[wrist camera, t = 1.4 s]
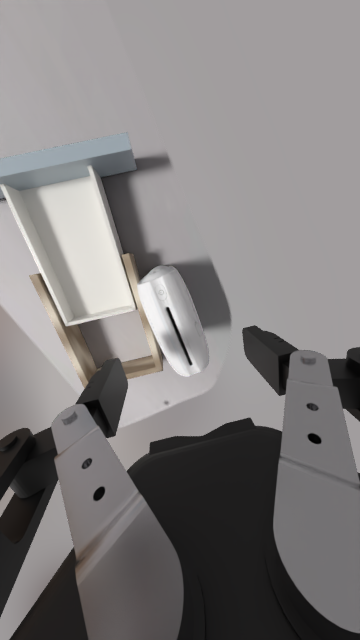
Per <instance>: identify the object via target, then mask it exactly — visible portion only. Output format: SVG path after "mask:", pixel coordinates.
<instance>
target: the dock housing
mask: <svg viewBox="0 0 360 640" xmlns="http://www.w3.org/2000/svg"><path fill="white" fill-rule="evenodd" d="M122 258H123V262H124V265H125V268H126V271H127V275H128V278H129V281H130V285H131V288H132V291H133V294H134V298H135V301H136V304H137V307H138V311H139V314H140V317H141V320H142V324H143V327H144V330H145V334H146V337H147V340H148V343H149V347H150V350H151V353H152V356H148V357H143V358H139V359H135V360H131V361H127V362H123V363H121V364H122V367H123V369H124V372H125V375H126V377H127V379H131V378H135V377H139V376H143V375H147V374H151V373H155V372H159V371H163V357H162V354H161V350H160V347H159V343H158V341H157V339H156V337H155V335H154V333H153V331H152V328H151V326H150V324H149V322H148V319H147V317H146V314H145V312H144V309H143V307H142V304H141V301H140V298H139V294H138V289H137V284H138V283H139V282H140V281H141V280H140V276H139V273H138V269H137V266H136V262H135V259H134V255H133V254H131V253H127V254H123V255H122ZM29 277H30V279H31V281H32V283H33V285H34V287H35V289H36V291H37V293H38V295H39V297H40V299H41V301H42V303H43V305H44V307H45V309H46V311H47V313H48V315H49V317H50V319H51V321H52V323H53V325H54V327H55V329H56V331H57V333H58V336H59V338H60V340H61V342H62V344H63V346H64V348H65V350H66V352H67V354H68V356H69V358H70V360H71V362H72V364H73V366H74V368H75V370H76V372H77V374H78V376H79V378H80V380H81V382H82V384H83V386H84V388H85V387H86V385H87V384H88V382H89V380H90V379H91V377H92V376H93V375H94V374H95V373H96V372H97V371H98V370H101V368H98V369H97V367H96V365H95V363H94V360H93V358H92V356H91V354H90V351H89V349H88V347H87V345H86V342H85V340H84V338H83V336H82V333H81V331H80V329H79V327H78V324H75V325H70V326H65V324H64V322H63V319H62V317H61V315H60V313H59V311H58V309H57V307H56V305H55V302H54V300H53V298H52V296H51V294H50V292H49V290H48V287H47V285H46V283H45V281H44V279H43V277H42V275H41V273H40V274H34V275H30V276H29Z"/></svg>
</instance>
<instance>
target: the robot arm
mask: <svg viewBox="0 0 360 640" xmlns="http://www.w3.org/2000/svg"><path fill="white" fill-rule="evenodd" d="M242 333H243V342H244V351H245V355H246V357H247V359H248V360H249V361H250V362H251V364H252V365H253V366H254V367H255V368H256V369H257V371H258V372H259V373H260V374H261V375H262V376H263V378H264V379H265V380H266V381H267V382H268V383H269V385H270V386H271V387H272V388H273V389H274V390H275V391H276V393H277V394H278V395H279V396H281V395H285V394H286V398H285V408H284V421H283V431H282V432H281V431H279V430H276V429H273V428H269V427H263V426H255V425H254V423H253V422H252V420H251V418H246V419H243V420H238V421H234V422H230V423H226V424H224V425H222V426H220V427H219V428H217V429H215V430H213V431H211V432H210V433H208V434H206V435H204V436H193V437H192V436H191V437H190V436H175V437H171V438H166V439H162V440H158V441H154V442H151V443H150V451H149V453H148V454H146V455H144V456H143V457H141V458H140V459H139V460H138V461H137V462H135V463H134V464H133V465H132V466H131V467H130V468H129V469H128V470H127V472H126V470H125V469H124V467H123V465H122V464H121V462H120V460H119V459H118V457H117V455H116V454H115V452H114V450H113V449H112V447H111V445H110V444H109V442H108V441H107V439H106V438H109V437H113V436H115V435H116V431H117V427H118V424H119V420H120V416H121V412H122V408H123V404H124V400H125V397H126V393H127V389H128V381H127V377H126V375H125V372H124V369H123V367H122V364H121V362H120V360H119V358H115V359H111V360H107V361H105V362H104V364H103V366H102V368H101V370H98V371H97V372H96V373H95V374H94V375H93V376H92V377H91V379H90V380H89V382H88V384H87V385H86V387H85V389H84V391H83V392H82V394H81V396H80V397H79V399H78V401H77V402H76V404H75V405H73V406H71V407H69V408H67V409H65V410H64V411H62V412H61V413H60V414H59V415H58V416H57V417H56V418H55V419H54V421H53V422H52V425H51V427H50V428H48V429H45V430H43V431H41V432H39V433H37V434H35V435H33V434H32V432H31V431H30V429H28V428H22V429H19V430H16V431H14V432H12V433H10V434H9V435H7V436H5V437H4V438H3V439H1V440H0V500H1V499H2V497H3V495H4V494H5V492H6V491H7V489H8V487H9V486H10V487H11V489H12V490H13V491H14V492H15V493H14V495H13V497H12V499H11V500H10V502H9V504H8V505H7V507H6V509H5V510H4V512H3V514H2V516H1V517H0V617H1V614H2V612H3V610H4V607H5V605H6V603H7V600H8V598H9V595H10V593H11V590H12V588H13V586H14V584H15V581H16V579H17V576H18V574H19V572H20V569H21V567H22V564H23V562H24V560H25V557H26V555H27V553H28V550H29V548H30V545H31V543H32V541H33V538H34V536H35V533H36V531H37V529H38V526H39V524H40V521H41V519H42V517H43V515H44V512H45V510H46V507H47V505H48V503H49V500H50V498H51V495H52V493H53V491H54V488H55V486H56V484H57V481H58V480H59V483H60V487H61V492H62V496H63V500H64V505H65V510H66V514H67V519H68V523H69V527H70V532H71V536H72V541H73V545H74V547H73V549H72V550H71V552H70V553H69V555H68V556H67V558H66V559H65V560H64V562H63V563H62V565H61V566H60V568H59V569H58V570H57V572H56V573H55V575H54V576H53V578H52V579H51V580H50V582H49V583H48V585H47V586H46V588H45V589H44V591H43V592H42V593H41V595H40V596H39V598H38V600H37V601H36V602H35V604H34V605H33V607H32V608H31V610H30V611H29V612H28V614H27V615H26V617H25V618H24V620H23V621H22V622H21V624H20V625H19V627H18V628H17V630H16V631H15V632H14V634H13V636H12V637H11V638H10V640H360V473H358V472H357V469H356V464H355V460H354V456H353V452H352V447H351V443H350V438H349V434H348V430H347V426H346V421H345V417H344V413H343V409H346V410H347V411H349V412H350V413H351V414H352V415H353V416H354V417H355V418H356V419H358V420H359V421H360V347H357V348H352V349H349V350H348V351H347V357H346V359H327V358H326V357H325V356H324V355H322V354H321V353H318V352H315V351H310V350H298V349H297V348H295V347H294V346H292V345H291V344H289V343H288V342H286V341H284V340H283V339H281V338H280V337H279V336H277V335H276V334H274V333H271V332H268V331H263V330H261V329H260V328H258V327H257V326H251V327H247V328H243V332H242Z"/></svg>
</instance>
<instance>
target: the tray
mask: <svg viewBox="0 0 360 640" xmlns="http://www.w3.org/2000/svg"><path fill="white" fill-rule="evenodd" d="M132 170H137V168H136V163H135V159H134V155H133V152H132V148H131V144H130V140H129V136H128V133H127V132H126V133H121V134H116V135H112V136H107V137H102V138H97V139H92V140H87V141H83V142H78V143H73V144H68V145H63V146H59V147H54V148H49V149H44V150H39V151H34V152H30V153H25V154H20V155H15V156H10V157H6V158H1V159H0V199H1V198H6V200H7V202H8V204H9V206H10V209H11V211H12V213H13V215H14V217H15V219H16V221H17V223H18V226H19V228H20V230H21V232H22V234H23V236H24V238H25V241H26V243H27V245H28V247H29V249H30V251H31V253H32V255H33V258H34V260H35V262H36V264H37V266H38V268H39V270H40V273H41V275H42V277H43V279H44V281H45V283H46V285H47V287H48V290H49V292H50V294H51V296H52V298H53V300H54V302H55V305H56V307H57V309H58V311H59V313H60V315H61V317H62V319H63V322H64V324H65V326H70V325H75V324H79V323H83V322H88V321H92V320H96V319H101V318H105V317H109V316H113V315H118V314H122V313H126V312H131V311H135V310H137V308H138V307H137V304H136V301H135V298H134V294H133V291H132V288H131V285H130V281H129V278H128V275H127V271H126V268H125V265H124V262H123V258H122V255H123V250H122V247H121V244H120V240H119V237H118V234H117V230H116V227H115V224H114V221H113V217H112V214H111V211H110V207H109V204H108V201H107V197H106V194H105V191H104V187H103V184H102V181H101V177H104V176H109V175H114V174H118V173H123V172H128V171H132Z"/></svg>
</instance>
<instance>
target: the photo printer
mask: <svg viewBox="0 0 360 640" xmlns="http://www.w3.org/2000/svg"><path fill="white" fill-rule="evenodd" d="M137 289H138V294H139V298H140V301H141V304H142V307H143V309H144V312H145V314H146V317H147V319H148V322H149V324H150V326H151V328H152V331H153V333H154V335H155V337H156V339H157V341H158V343H159V345H160V347H161V349H162V351H163V353H164V355H165V357H166V359H167V360H168V362H169V364H170V365H171V366H172V368H173V369H174V370H175V371H176V372H177V373H178V374H179V375H182V376H187V377H189V376H191V375H193V374H195V373H201V372H202V371H203V370H204V369H205V368H206V367H207V365H208V363H209V349H208V345H207V341H206V338H205V334H204V331H203V328H202V325H201V322H200V319H199V316H198V314H197V311H196V308H195V306H194V303H193V300H192V298H191V295H190V293H189V291H188V288H187V287H186V285H185V283H184V280H183V279H182V277H181V275H180V274H179V272H178V271H177V269H176V268H174V267H173V266H164V265H161V266H157V267H155V268H153V269H152V270H151V271H150V272H149V273H148V274H147V275H146V276H144V278H143V279H142V280H141V281H140V282H139V283H138V284H137Z"/></svg>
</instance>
